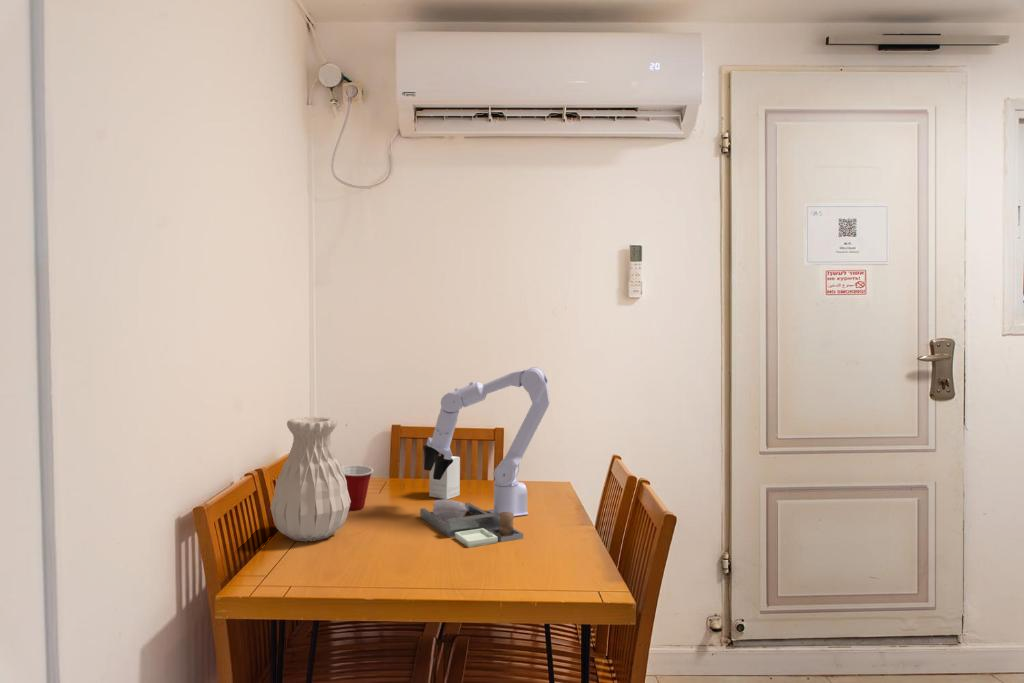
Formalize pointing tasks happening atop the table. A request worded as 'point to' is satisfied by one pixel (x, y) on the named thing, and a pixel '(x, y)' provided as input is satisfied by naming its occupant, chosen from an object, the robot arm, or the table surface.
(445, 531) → the bench stop
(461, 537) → the tray
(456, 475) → the supplement box
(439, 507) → the stone block
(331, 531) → the vase
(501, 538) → the dowel socket
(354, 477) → the plastic cup
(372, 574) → the table surface
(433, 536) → the table surface
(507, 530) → the dowel
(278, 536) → the table surface
